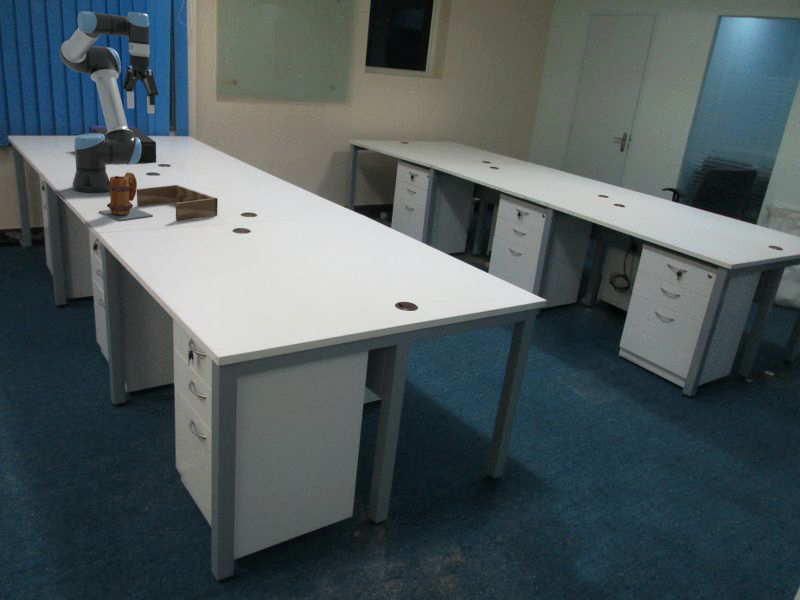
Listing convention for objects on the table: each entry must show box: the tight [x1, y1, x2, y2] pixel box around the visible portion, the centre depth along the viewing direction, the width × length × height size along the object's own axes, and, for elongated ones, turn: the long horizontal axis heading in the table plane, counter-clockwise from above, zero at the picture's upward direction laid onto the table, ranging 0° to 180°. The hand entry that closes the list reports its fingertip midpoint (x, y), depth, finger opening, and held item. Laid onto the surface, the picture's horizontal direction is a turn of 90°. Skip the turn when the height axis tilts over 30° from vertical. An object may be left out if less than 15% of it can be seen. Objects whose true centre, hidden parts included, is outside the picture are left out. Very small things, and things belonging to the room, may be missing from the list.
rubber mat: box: [98, 206, 153, 222], centre depth 251 cm, size 14×14×1 cm
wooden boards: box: [136, 184, 219, 222], centre depth 263 cm, size 26×19×7 cm
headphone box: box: [88, 124, 157, 164], centre depth 350 cm, size 25×35×14 cm
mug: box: [106, 171, 138, 215], centre depth 248 cm, size 15×8×15 cm, turn 167°
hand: (140, 110), depth 261 cm, fingers open, 13 cm apart
